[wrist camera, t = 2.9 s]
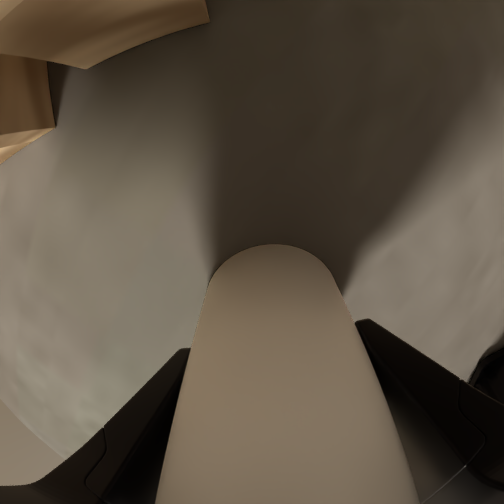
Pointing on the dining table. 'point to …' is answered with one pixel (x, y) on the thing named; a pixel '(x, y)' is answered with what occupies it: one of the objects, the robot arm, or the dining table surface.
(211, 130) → the dining table surface
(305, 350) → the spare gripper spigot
